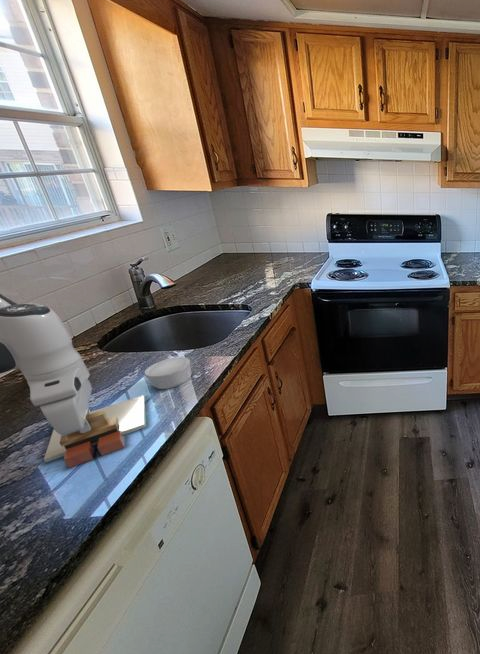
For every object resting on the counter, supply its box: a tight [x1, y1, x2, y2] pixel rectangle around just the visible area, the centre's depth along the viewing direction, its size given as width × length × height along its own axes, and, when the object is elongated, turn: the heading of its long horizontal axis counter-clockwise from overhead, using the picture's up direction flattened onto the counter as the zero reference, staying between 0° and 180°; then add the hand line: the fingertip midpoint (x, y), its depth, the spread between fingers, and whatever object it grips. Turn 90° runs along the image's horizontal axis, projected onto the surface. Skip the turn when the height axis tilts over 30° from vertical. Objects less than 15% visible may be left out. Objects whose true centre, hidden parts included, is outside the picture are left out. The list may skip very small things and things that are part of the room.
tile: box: [43, 394, 147, 463], centre depth 92 cm, size 18×16×1 cm
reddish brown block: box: [63, 441, 95, 469], centre depth 82 cm, size 4×4×2 cm
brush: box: [60, 410, 119, 449], centre depth 84 cm, size 10×4×6 cm, turn 128°
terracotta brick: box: [97, 431, 126, 456], centre depth 85 cm, size 4×4×2 cm
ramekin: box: [143, 356, 192, 390], centre depth 109 cm, size 11×11×5 cm
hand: (87, 426), depth 84 cm, fingers closed on brush, 2 cm apart
